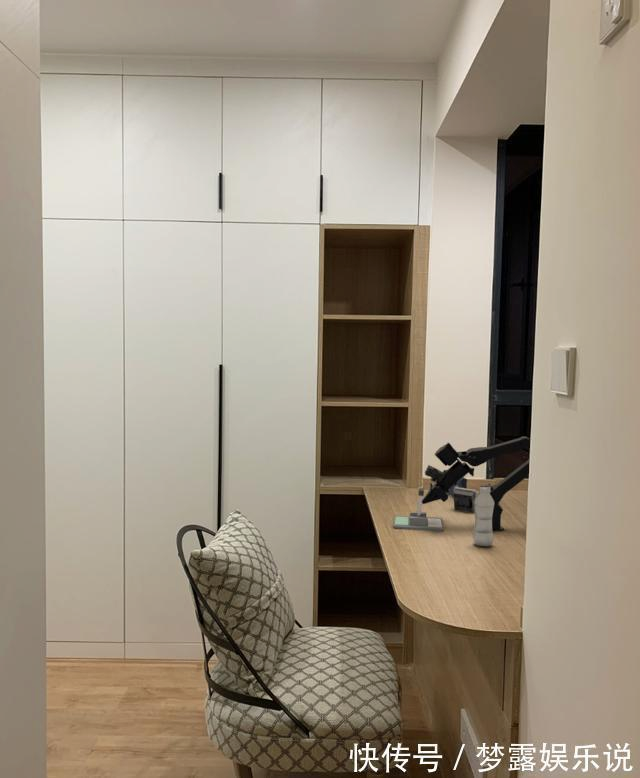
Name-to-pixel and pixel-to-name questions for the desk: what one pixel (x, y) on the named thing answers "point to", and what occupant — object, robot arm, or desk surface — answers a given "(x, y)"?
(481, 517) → the plastic bottle
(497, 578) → the desk surface
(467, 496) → the electrical switch
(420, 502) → the lever
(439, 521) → the switch plate
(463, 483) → the vhs cassette tape
